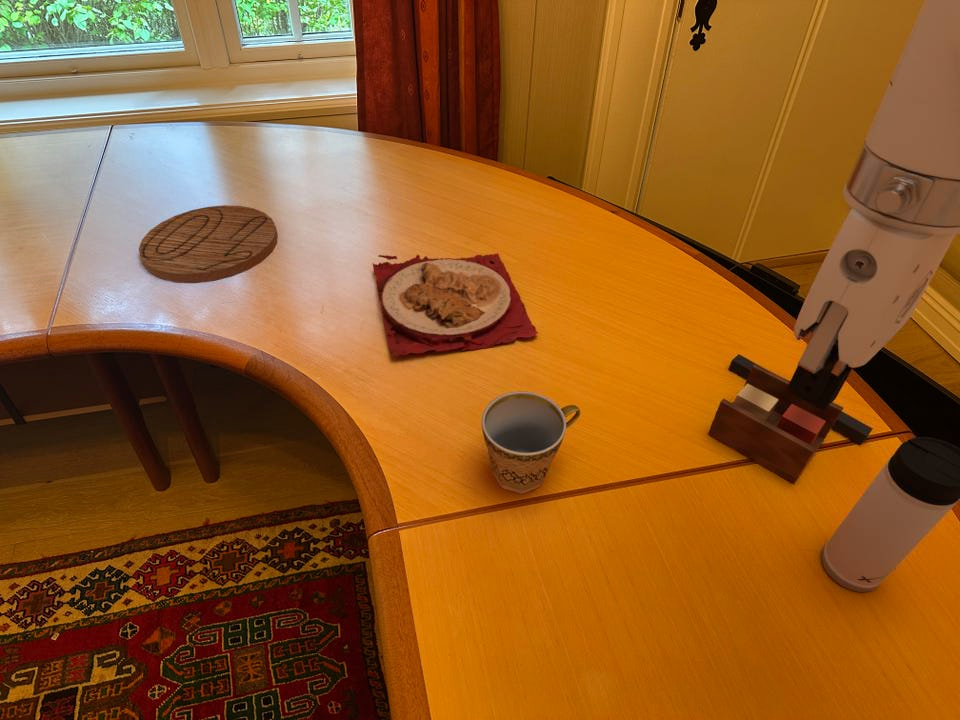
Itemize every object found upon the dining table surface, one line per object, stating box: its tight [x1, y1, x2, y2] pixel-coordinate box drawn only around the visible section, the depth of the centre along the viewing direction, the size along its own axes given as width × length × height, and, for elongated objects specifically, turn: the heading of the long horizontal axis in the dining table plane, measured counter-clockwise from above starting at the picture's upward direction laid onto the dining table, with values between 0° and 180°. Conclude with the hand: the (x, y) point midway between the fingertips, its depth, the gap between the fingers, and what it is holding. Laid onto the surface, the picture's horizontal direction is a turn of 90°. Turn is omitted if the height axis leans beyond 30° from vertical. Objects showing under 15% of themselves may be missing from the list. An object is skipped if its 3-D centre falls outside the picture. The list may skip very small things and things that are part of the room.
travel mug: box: [820, 436, 960, 593], centre depth 62 cm, size 6×7×20 cm
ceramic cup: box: [481, 390, 581, 495], centre depth 75 cm, size 13×10×10 cm
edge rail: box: [728, 353, 874, 446], centre depth 87 cm, size 20×2×2 cm, turn 42°
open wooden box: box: [707, 363, 844, 485], centre depth 80 cm, size 12×10×7 cm
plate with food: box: [372, 252, 539, 357], centre depth 103 cm, size 24×26×3 cm
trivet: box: [138, 204, 279, 284], centre depth 117 cm, size 25×25×2 cm
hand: (809, 395), depth 49 cm, fingers closed
